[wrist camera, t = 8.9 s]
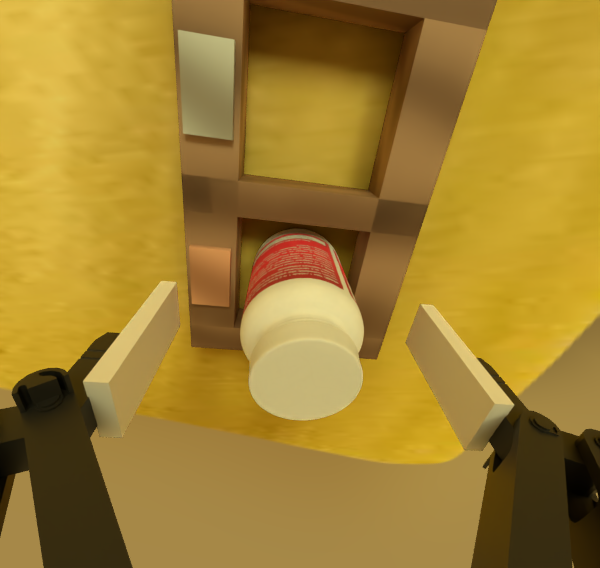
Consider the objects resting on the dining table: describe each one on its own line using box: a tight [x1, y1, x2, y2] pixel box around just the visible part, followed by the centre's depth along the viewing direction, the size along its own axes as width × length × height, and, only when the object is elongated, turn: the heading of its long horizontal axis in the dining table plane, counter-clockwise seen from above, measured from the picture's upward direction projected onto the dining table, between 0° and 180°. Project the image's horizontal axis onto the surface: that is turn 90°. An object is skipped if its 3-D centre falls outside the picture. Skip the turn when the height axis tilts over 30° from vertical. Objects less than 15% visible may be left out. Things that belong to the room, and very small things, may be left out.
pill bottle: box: [240, 229, 364, 420], centre depth 17 cm, size 6×6×11 cm
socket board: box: [172, 0, 497, 359], centre depth 18 cm, size 22×14×3 cm, turn 173°
